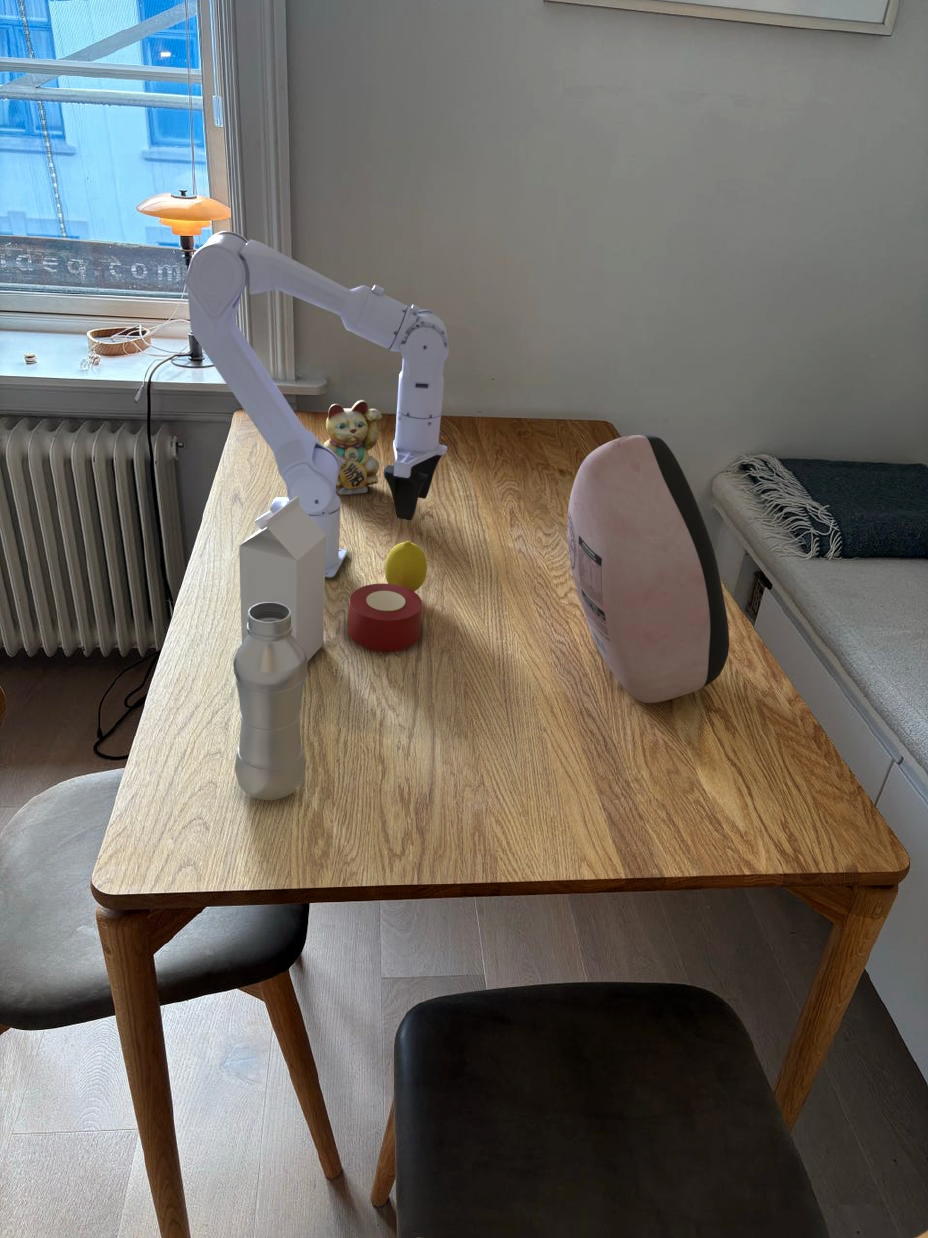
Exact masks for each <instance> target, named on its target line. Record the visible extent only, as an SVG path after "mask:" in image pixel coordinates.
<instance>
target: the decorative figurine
mask: <svg viewBox="0 0 928 1238" xmlns="http://www.w3.org/2000/svg"><path fill="white" fill-rule="evenodd" d="M382 418H383V416H382V413H381V412H380V411H379V410H378V409H376V408H369V405H368V403H367V401H365V400H364V399H360V400H357V401H356V402H355V403H354V404H353V406H352V407H351V408H348V407H347V408H343V406H342V405H341V404H339V403H333V404H331V405H330V407H329V409H328V413H327V418H326V421H325V427H326V428H325V429H326V432H327V434H328V436H329V438H328V439H327V440H326V441H325V442H324V443H323V444H322V445H323V446H325V447H327V448H328V449H330V450H331V451H332V452H334V454H335V455H336V456H337V458H338V460H339V463H340V473H339V476H338V478H337V484H336V493H338V494H339V495H354V494H355V495H356V494H364V493H368V490H369V489H368V486H371V485H372V486H373V485H377V484H379V478H378V475H377V474H378V472H379V469H380V464H379V460H378V459H377V458H376V457H374V456H373V455H370V454H369V451H370V450H372V449H373V448H374V447H375V446H376V445H377V443H378V439H379V431H378V427H377V426H378V425H377V422H379V421H380V420H382Z"/></svg>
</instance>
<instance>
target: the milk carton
mask: <svg viewBox="0 0 928 1238" xmlns="http://www.w3.org/2000/svg"><path fill="white" fill-rule="evenodd" d="M254 524H255V525H256V526H257V527H258V529H259V530H257V531H256V532H254V533H253V534H252V535H251V536H249V537H248V538H247V539H245V540H244V541H243V542H242V543H240V544H239V545H238V546H239V548H238V549H239V551H238V553H239V554H238V556H239V558H238V559H239V591H240V592H239V594H240V595H239V596H240V597H239V599H240V627H241V628H240V631H241V633H240V637H241V644H242V643H243V641H244V640H245V639H246V638H247V637H248V636H249V633H248V631H247V623H248V610H249V609H250V607H252V606H253V605H255V604H258V603H263V602H276V603H281V604H283V605H286V606H287V607H288V608H289V609H290V611H291V622H292V628H293V630H292V633H291V635H292V636H293V637H294V638H295V639H296V640H297V641H298V643H299V644H300V645H301V646H302V648H303V649H304V651H305V654H306V657H307V662H309V661H311V659H312V657H313V656H314V655H315V654H316V653H317V652H318V651H319V650H321V648H322V647H323V645H324V625H325V624H324V623H325V589H326V588H325V587H326V585H325V583H326V582H325V581H326V577H325V551H326V534H325V533H324V532H323V531H322V530H321V528H320V527H319V526H318V525H317V524H316V523H315V522H314V521H313V519H312V518H311V517H310V516H309V515H308V514H307V513H306V512H305V510H304V509H303V508H302V507H301V506H300V505H299V496H296V497H295V498H293V499H292V500H291V501H289V502H288V503H287V504H285V505H284V506H283V507H282V508H280V509H279V510H278V511H276V512H275V513H274V514H273V513H272V512H271V511H270V510H269V511H267V512H264V514H262V515H260V516H258V517H257V518H256V519H255V520H254Z"/></svg>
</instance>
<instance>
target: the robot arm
mask: <svg viewBox="0 0 928 1238" xmlns="http://www.w3.org/2000/svg"><path fill="white" fill-rule="evenodd" d="M190 259H191V260H190V262H189V265H188V268H187V271H186V275H185V278H184V286H185V288H186V291H187V301H188V313H189V314H188V315H189V325H190V331H191V333H192V335H193V337H194V339H195V340H196V341H197V343H198V344H199V346H200V347H201V349H202V350H203V352H204V354H206V356H207V357H208V359H209V360H210V362H211V364H212V365H213V366H214V368H215V370H217V372H218V373H219V375H220V377H221V378H222V379H223V381H224V382H225V384H226V385H227V387H228V388H229V390H230V392H231V393H232V394H233V395H234V397H235V399H236V400H237V401H238V403H239V405H240V406H241V407H242V409H243V410H244V412H245V413H246V414H247V416H248V418H249V419H250V421H251V422H252V423H253V425H254V426H255V428H256V430H257V431H258V432H259V434H260V435H261V436H262V438H263V440H264V441H265V442H266V444H267V445H268V447H269V449H270V451H272V453H273V456H274V460H275V463H276V467H277V472H278V474H279V476H280V477H281V479H282V480H283V481H284V484H285V488H286V495H287V496H286V497H279V496H277V497H275V498H274V499H273V501H272V503H271V505H270V508H269V511H271V512H272V513H273V514H274V513H275V512H276V511H278V510H279V509H280V508H282V507H283V506H284V505H285V504H287V503H288V502H289V501H291V500H292V499H293V498H295V497H296V496H299V505H300V506H301V507H302V508H303V509H304V510H305V512H306V513H307V514H308V515H309V516H310V517H311V518H312V519H313V521H314V522H315V523H316V524H317V525H318V526H319V527H320V528H321V530H322V531H323V532H324V533H325V534H326V551H325V578H330V579H331V578H332V579H333V578H334V577H335V576H336V574H337V573H338V571H339V569H340V567H341V565H342V564H343V562H344V560H345V558H346V557H347V554H348V550H347V549H343V548H340V537H341V536H340V535H341V534H340V532H341V507H342V506H341V505H342V504H341V503H342V501H341V498H340V497H339V496H338V494H337V490H336V484H337V478H338V476H339V473H340V463H339V460H338V458H337V456H336V455H335V454H334V452H332V451H331V450H330V449H328V448H327V447H325V446H323V445H324V444H323V443H321V442H320V440H319V439H318V438H317V436H316V435H315V433H313V432H312V431H310V430H308V429H307V428H305V427H304V425H303V424H302V422H301V421H300V419H299V418H298V416H297V414H296V413H295V412H294V410H293V408H292V407H291V405H290V403H289V402H288V401H287V399H286V398H285V396H284V394H283V393H282V391H281V390H280V389H279V387H278V385H277V384H276V383H275V381H274V380H273V377H272V376H271V375H270V373H269V372H268V370H267V369H266V367H265V365H264V364H263V363H262V360H261V359H260V358H259V356H258V355H257V353H256V352H255V350H254V349H253V348H252V347H253V346H252V345H251V344H250V343H249V341H248V339H247V338H246V336H245V335H244V333H243V332H242V331H241V328H240V327H239V325H238V324H237V322H236V321H237V315H238V311H239V307H240V303H241V296H242V293H243V291H244V290H245V288H246V286H247V285H249V286H248V287H249V288H248V294H249V295H257V294H261V293H265V292H266V293H267V292H271V291H280V292H282V293H284V294H287V295H289V296H292V297H295V298H297V299H299V300H302V301H305V302H306V303H309V304H311V305H314V306H316V307H318V308H321V309H323V310H326V311H327V312H331V313H333V314H335V315H338V317H339V318H340V319H341V321H342V324H343V326H344V328H345V329H344V330H346V331H348V332H350V333H352V334H354V335H356V336H358V337H361V338H362V339H365V340H367V341H369V342H372V343H373V344H376V345H377V346H380V347H382V348H384V349H386V350H389V351H390V352H394V353H395V352H396V353H400V355H401V357H402V362H401V367H402V368H401V371H400V373H399V375H398V387H397V388H398V389H397V405H396V406H397V407H396V417H395V418H396V419H395V421H396V422H395V436H394V440H393V444H392V448H393V455H394V459H395V460H394V463H393V465H392V464H386V466H385V467H384V469H383V477H384V479H385V481H386V483H387V484H388V487H389V490H390V492H391V493H390V494H391V497H392V502H393V508H394V514H395V518H396V519H398V520H403V521H409V522H411V521H412V520H413V519H414V516H415V513H416V509H417V505H418V501H419V499H426V498H427V497H428V494H429V491H430V490H431V489H430V488H431V484H432V482H433V477H434V474H435V471H436V468H437V466H438V464H439V462H440V460H441V458H442V457H443V456H445V455H446V454H447V452H448V446H447V445H444V444H440V431H441V430H440V429H441V422H442V421H441V420H442V411H443V409H442V408H443V400H444V398H443V397H444V386H445V378H444V375H443V374H444V373H445V367H446V364H445V362H446V360H447V359H448V357H449V354H450V348H449V340H448V339H449V337H448V330H447V327H446V325H445V324H444V321H443V320H442V319H441V318H440V317H439V316H438V315H437V314H435V313H434V312H433V311H432V310H430V309H421V308H420V306H418V305H416V304H413V303H412V304H411V306H409V305H407V304H405V303H403V302H401V301H399V300H396V299H395V298H392V297H391V296H388V295H386V294H384V293H385V288H384V287H381V286H379V285H378V284H374V285H373V287H372V288H371V287H369V286H367V285H365V284H363V285H360V286H357V287H355V288H348V287H345V286H343V285H342V284H340V283H339V282H336V281H334V280H332V279H330V278H328V277H327V276H325V275H323V274H321V273H319V272H318V271H316V270H314V269H312V268H310V267H308V266H306V265H304V264H302V263H301V262H299V261H297V260H295V259H293V258H291V257H289V256H288V255H286V254H283V253H282V252H280V251H278V250H276V249H274V248H272V247H270V246H268V245H266V244H265V243H263V242H261V241H258V240H254V239H249V241H248V239H247V238H246V237H244V236H243V235H242V234H240V233H238V232H236V231H235V232H234V231H230V230H224V231H220V232H216V233H214V234H213V235H212V236H211V237H209V238H208V240H207V241H206V243H205V244H204V245H203V246H201V247H200V248H199V249H197V250H196V251H195V252H194V254H193V255H192V257H191V258H190Z"/></svg>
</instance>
